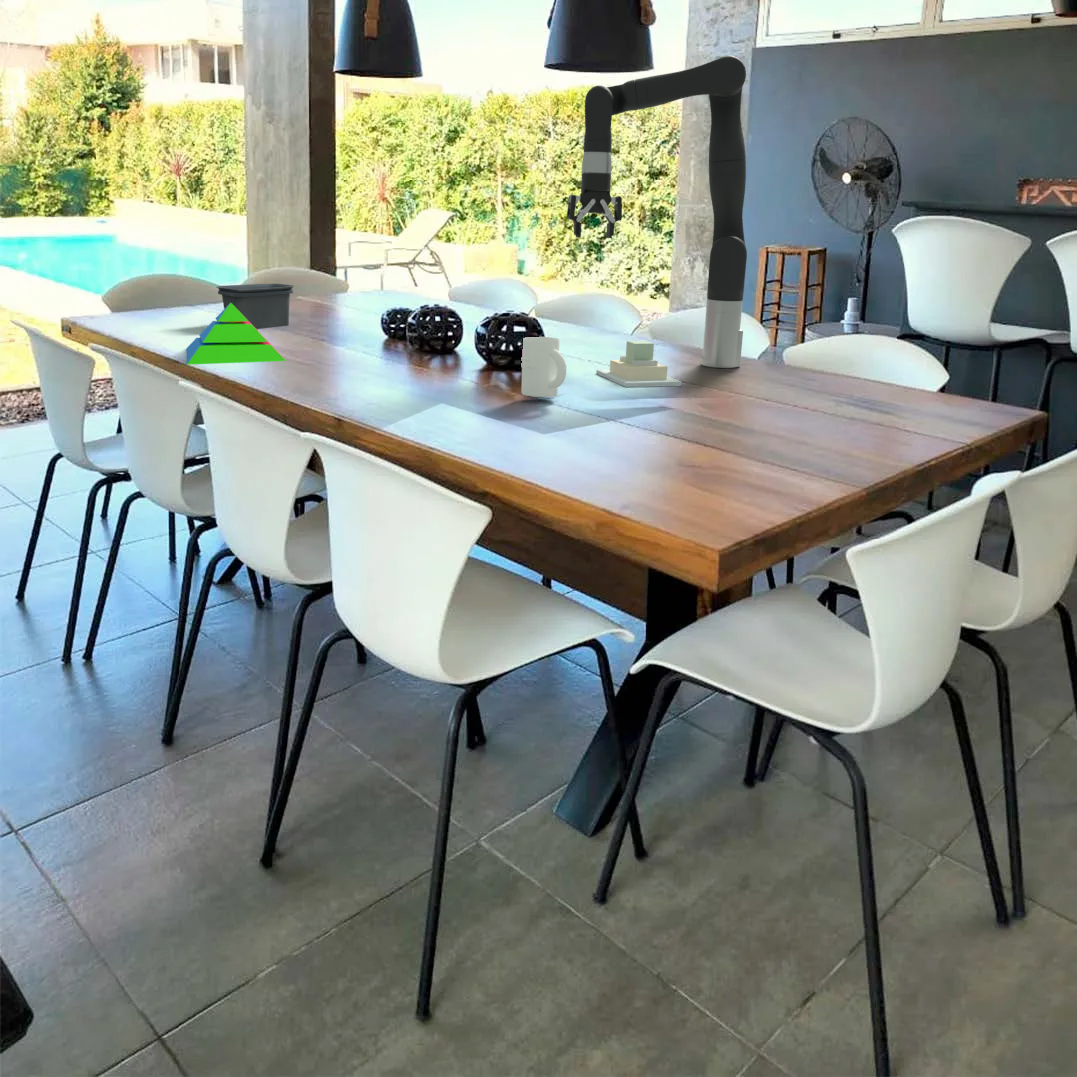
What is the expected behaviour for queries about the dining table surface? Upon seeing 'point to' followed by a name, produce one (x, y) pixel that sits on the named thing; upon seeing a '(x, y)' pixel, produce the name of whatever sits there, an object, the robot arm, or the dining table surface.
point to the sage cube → (639, 351)
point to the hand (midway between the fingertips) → (593, 237)
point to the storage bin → (260, 303)
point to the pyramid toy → (231, 342)
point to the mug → (542, 367)
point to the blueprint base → (637, 382)
